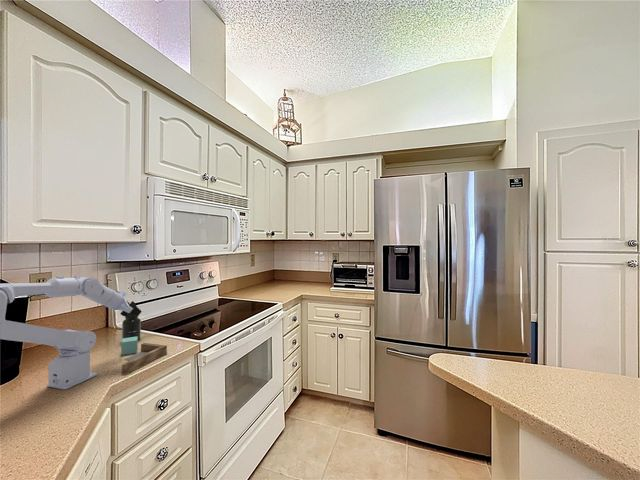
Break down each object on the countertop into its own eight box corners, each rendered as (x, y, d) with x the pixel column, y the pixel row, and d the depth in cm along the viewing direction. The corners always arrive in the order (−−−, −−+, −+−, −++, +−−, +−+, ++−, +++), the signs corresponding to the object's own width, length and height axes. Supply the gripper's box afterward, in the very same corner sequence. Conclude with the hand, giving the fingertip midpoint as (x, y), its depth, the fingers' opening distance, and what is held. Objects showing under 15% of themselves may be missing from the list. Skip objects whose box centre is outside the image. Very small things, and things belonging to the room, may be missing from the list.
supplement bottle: (131, 343, 120) (131, 315, 120) (118, 342, 121) (117, 314, 121) (144, 338, 126) (144, 311, 126) (131, 336, 128) (131, 310, 128)
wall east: (163, 354, 108) (163, 347, 108) (141, 351, 111) (141, 344, 111) (166, 353, 110) (166, 345, 110) (144, 350, 113) (144, 342, 113)
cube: (136, 352, 110) (136, 340, 110) (121, 355, 108) (121, 342, 108) (137, 348, 115) (137, 336, 115) (122, 350, 112) (122, 338, 112)
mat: (139, 361, 102) (139, 361, 102) (124, 359, 104) (124, 359, 104) (155, 354, 109) (155, 353, 109) (140, 352, 111) (140, 351, 111)
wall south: (125, 374, 93) (125, 365, 93) (122, 373, 93) (121, 364, 93) (163, 354, 108) (163, 347, 108) (160, 354, 109) (160, 346, 109)
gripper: (126, 294, 98) (152, 308, 109) (103, 279, 104) (129, 293, 115) (111, 312, 95) (139, 324, 106) (87, 295, 101) (116, 308, 112)
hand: (133, 309), depth 110 cm, fingers open, 7 cm apart
